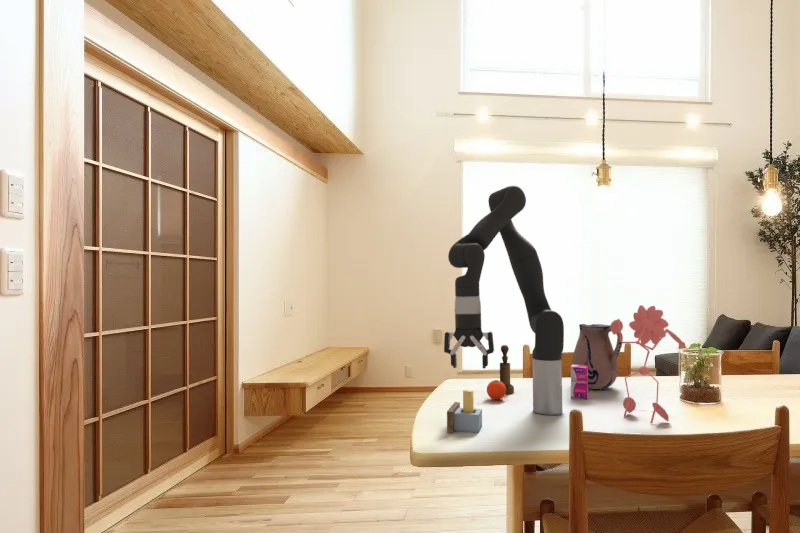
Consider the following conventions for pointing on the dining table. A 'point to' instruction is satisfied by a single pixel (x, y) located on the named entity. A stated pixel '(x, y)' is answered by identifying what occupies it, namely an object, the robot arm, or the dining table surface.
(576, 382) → the supplement box
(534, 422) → the dining table surface
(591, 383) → the ceramic pitcher
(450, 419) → the wall
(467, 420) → the socket block
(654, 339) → the figurine
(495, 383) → the clementine
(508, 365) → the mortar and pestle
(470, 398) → the dowel
